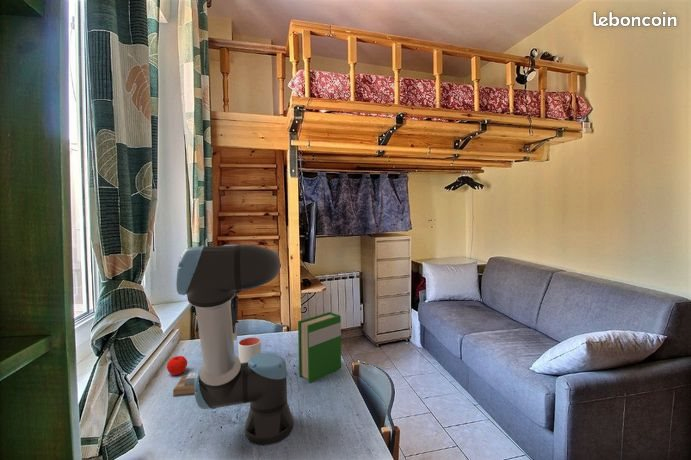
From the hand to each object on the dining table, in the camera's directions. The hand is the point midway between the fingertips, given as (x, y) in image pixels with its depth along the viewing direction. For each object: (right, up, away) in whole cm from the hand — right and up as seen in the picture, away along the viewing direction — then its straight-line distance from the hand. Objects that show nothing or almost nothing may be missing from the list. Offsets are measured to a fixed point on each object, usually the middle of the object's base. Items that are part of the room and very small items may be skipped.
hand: (233, 339), depth 128 cm
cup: (+1, -17, +19) cm, 25 cm away
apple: (-28, -18, +9) cm, 34 cm away
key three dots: (-15, -17, -2) cm, 23 cm away
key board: (-7, -18, -1) cm, 19 cm away
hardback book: (+35, -17, +9) cm, 40 cm away
